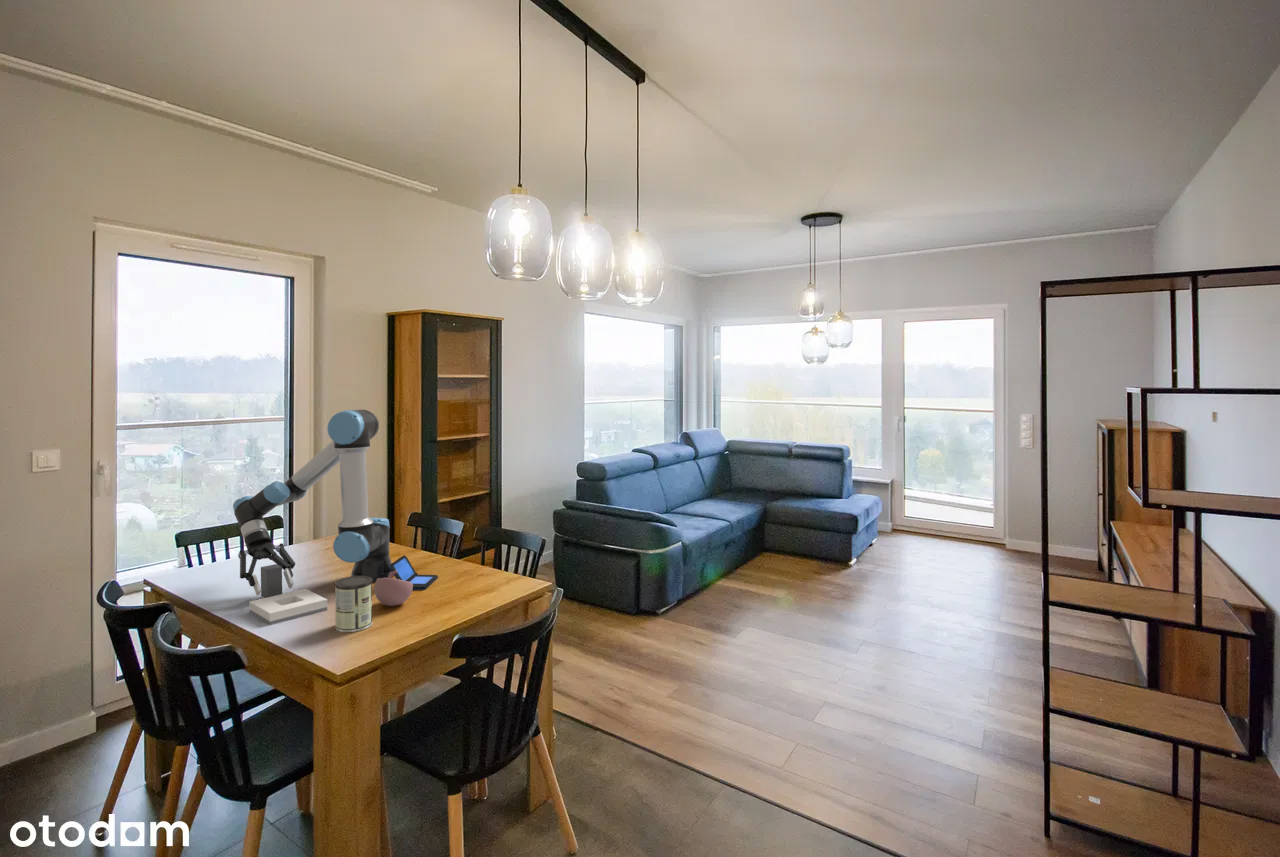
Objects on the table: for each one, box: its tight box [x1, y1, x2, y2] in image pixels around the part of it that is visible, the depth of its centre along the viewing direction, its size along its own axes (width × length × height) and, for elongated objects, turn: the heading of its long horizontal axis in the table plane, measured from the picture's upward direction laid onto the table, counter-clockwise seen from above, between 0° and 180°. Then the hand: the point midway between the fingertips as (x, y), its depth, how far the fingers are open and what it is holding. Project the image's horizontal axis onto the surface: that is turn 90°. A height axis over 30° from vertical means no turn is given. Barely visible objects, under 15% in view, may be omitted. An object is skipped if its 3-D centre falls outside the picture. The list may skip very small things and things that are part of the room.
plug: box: [260, 563, 283, 598], centre depth 206 cm, size 5×5×11 cm
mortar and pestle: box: [373, 570, 413, 607], centre depth 202 cm, size 12×12×11 cm
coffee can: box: [334, 576, 373, 633], centre depth 183 cm, size 10×10×14 cm
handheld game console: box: [390, 555, 439, 591], centre depth 226 cm, size 16×13×9 cm
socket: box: [249, 588, 328, 626], centre depth 195 cm, size 17×16×4 cm
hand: (275, 589), depth 204 cm, fingers open, 9 cm apart
